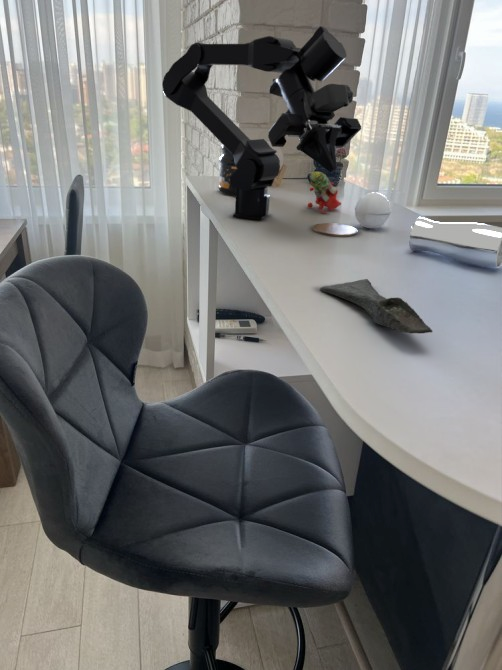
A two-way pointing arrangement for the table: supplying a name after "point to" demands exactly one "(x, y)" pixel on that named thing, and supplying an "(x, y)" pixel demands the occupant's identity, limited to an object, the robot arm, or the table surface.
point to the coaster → (335, 229)
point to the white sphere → (372, 210)
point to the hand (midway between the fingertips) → (333, 170)
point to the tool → (380, 306)
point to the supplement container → (226, 172)
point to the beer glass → (459, 241)
